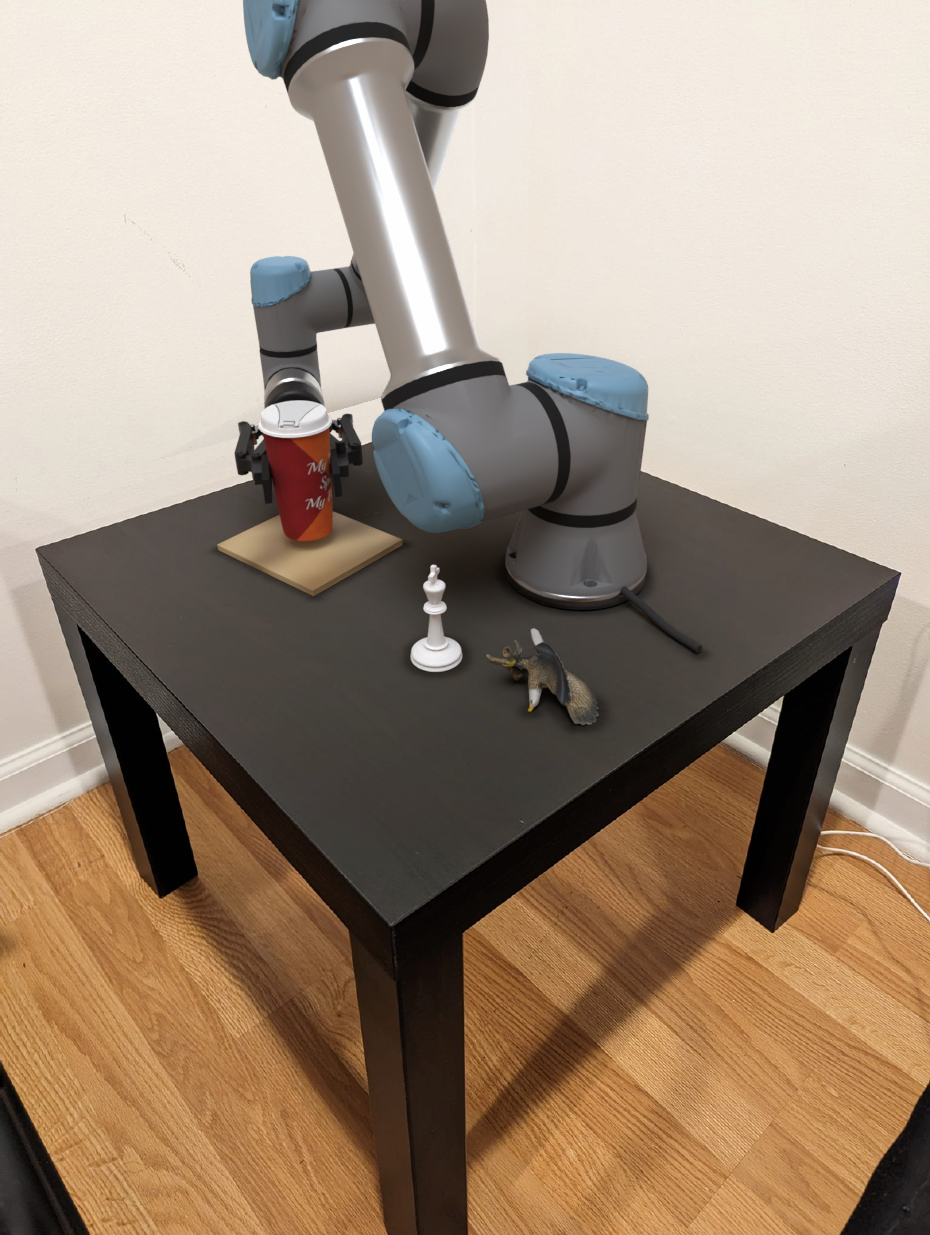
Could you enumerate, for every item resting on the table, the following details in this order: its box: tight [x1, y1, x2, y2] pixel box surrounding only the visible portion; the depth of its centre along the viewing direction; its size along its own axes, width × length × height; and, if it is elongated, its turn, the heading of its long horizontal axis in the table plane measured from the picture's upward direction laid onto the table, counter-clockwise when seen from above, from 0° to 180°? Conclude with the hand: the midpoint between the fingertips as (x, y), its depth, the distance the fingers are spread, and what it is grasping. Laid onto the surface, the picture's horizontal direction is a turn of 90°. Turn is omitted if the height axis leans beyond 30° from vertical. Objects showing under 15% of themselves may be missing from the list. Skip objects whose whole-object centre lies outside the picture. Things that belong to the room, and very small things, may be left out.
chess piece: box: [410, 564, 463, 673], centre depth 80 cm, size 5×5×10 cm
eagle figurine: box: [485, 627, 600, 726], centre depth 75 cm, size 8×7×9 cm
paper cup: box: [257, 400, 333, 541], centre depth 95 cm, size 8×8×14 cm
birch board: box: [216, 510, 404, 597], centre depth 100 cm, size 16×14×1 cm
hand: (302, 488), depth 91 cm, fingers closed on paper cup, 7 cm apart
